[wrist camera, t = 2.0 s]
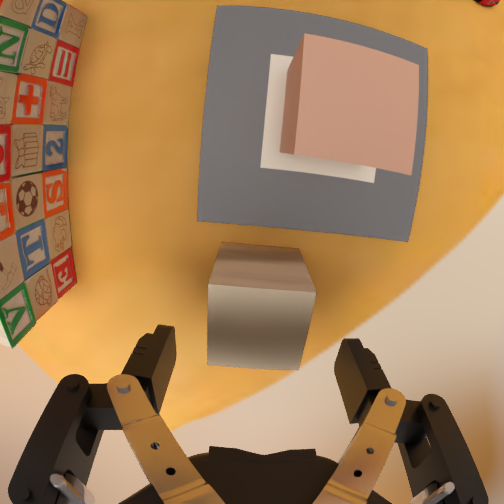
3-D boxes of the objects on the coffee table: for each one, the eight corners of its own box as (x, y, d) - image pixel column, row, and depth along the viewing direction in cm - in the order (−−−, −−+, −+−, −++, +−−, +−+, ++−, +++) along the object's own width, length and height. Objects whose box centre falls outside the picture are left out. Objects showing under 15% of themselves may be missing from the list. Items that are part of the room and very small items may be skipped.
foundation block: (287, 70, 14) (304, 33, 8) (368, 86, 14) (419, 64, 8) (279, 152, 16) (294, 154, 10) (361, 164, 16) (411, 175, 10)
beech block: (221, 241, 19) (208, 284, 13) (298, 248, 19) (316, 292, 13) (218, 308, 20) (207, 364, 15) (287, 313, 20) (298, 370, 15)
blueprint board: (218, 10, 13) (217, 5, 12) (421, 51, 13) (427, 48, 13) (199, 218, 18) (196, 221, 17) (402, 238, 18) (408, 242, 17)
